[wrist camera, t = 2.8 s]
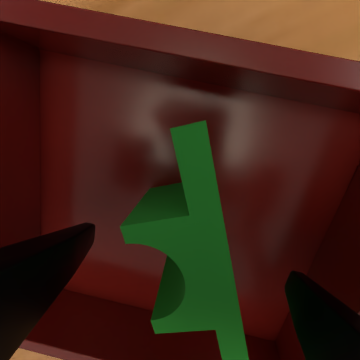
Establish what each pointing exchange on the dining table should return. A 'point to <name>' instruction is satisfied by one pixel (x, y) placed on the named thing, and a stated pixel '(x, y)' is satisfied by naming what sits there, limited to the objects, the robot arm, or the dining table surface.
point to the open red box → (174, 170)
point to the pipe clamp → (191, 247)
